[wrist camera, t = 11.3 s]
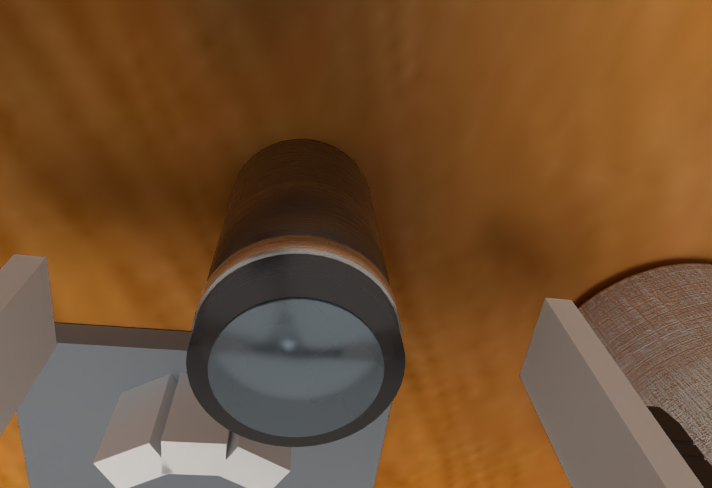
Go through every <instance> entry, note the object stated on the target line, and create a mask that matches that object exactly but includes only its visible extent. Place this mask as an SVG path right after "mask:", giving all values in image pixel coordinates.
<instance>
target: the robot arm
mask: <svg viewBox="0 0 712 488" xmlns="http://www.w3.org/2000/svg"><path fill="white" fill-rule="evenodd" d="M56 346H57V342H56V333H55V325H54V316H53V308H52V299H51V291H50V282H49V274H48V265H47V257H43V256H30V255H18V254H14V255H13V256H12V257H11V258H10V259H9V260H8V261H7V262H6V263H5V264H4V266H3V267H2V268H1V269H0V436H1V434H2V433H3V431H4V429H5V428H6V426H7V425H8V423H9V421H10V420H11V418H12V417H13V415H14V413H15V412H16V410H17V409H18V407H19V405H20V404H21V402H22V401H23V399H24V397H25V396H26V394H27V393H28V391H29V389H30V388H31V386H32V385H33V383H34V381H35V380H36V378H37V377H38V375H39V373H40V372H41V370H42V369H43V367H44V365H45V364H46V362H47V361H48V359H49V357H50V356H51V354H52V353H53V351H54V349H55V348H56ZM520 378H521V380H522V382H523V384H524V386H525V389H526V391H527V393H528V395H529V397H530V399H531V401H532V404H533V406H534V408H535V410H536V412H537V414H538V416H539V419H540V421H541V423H542V425H543V427H544V429H545V431H546V434H547V436H548V438H549V440H550V442H551V444H552V446H553V449H554V451H555V453H556V455H557V457H558V459H559V461H560V464H561V466H562V468H563V470H564V472H565V474H566V476H567V479H568V481H569V483H570V485H571V487H572V488H712V466H711V464H710V463H709V462H708V460H705V459H704V455H703V454H702V452H701V451H700V450H699V448H698V447H697V446H696V445H694V444H693V440H692V439H691V438H690V436H689V435H688V434H687V432H686V431H685V430H684V428H683V427H682V426H681V424H680V423H679V422H678V421H676V420H675V419H674V418H673V417H671V416H670V415H669V414H668V413H667V412H665V411H664V410H663V409H662V408H660V407H655V406H646V405H645V404H644V402H643V401H642V399H641V398H640V396H639V395H638V394H637V392H636V391H635V389H634V388H633V387H632V385H631V384H630V382H629V381H628V379H627V378H626V377H625V375H624V374H623V372H622V371H621V370H620V368H619V367H618V365H617V364H616V362H615V361H614V360H613V358H612V357H611V355H610V354H609V353H608V351H607V350H606V348H605V347H604V345H603V344H602V343H601V341H600V340H599V338H598V337H597V335H596V334H595V333H594V331H593V330H592V328H591V327H590V326H589V324H588V323H587V321H586V320H585V318H584V317H583V316H582V314H581V313H580V311H579V310H578V309H577V307H576V306H575V304H574V303H573V301H572V300H567V299H555V298H545V300H544V303H543V306H542V309H541V312H540V315H539V318H538V321H537V324H536V327H535V330H534V333H533V336H532V339H531V342H530V345H529V348H528V351H527V354H526V357H525V360H524V364H523V367H522V370H521V373H520Z"/></svg>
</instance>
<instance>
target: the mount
mask: <svg viewBox="0 0 712 488" xmlns="http://www.w3.org/2000/svg"><path fill="white" fill-rule="evenodd" d="M54 325H55V333H56V342H57V346H56V348H55V349H54V351H53V353H52V354H51V356H50V357H49V359H48V361H47V362H46V364H45V365H44V367H43V369H42V370H41V372H40V373H39V375H38V377H37V378H36V380H35V381H34V383H33V385H32V386H31V388H30V389H29V391H28V393H27V394H26V396H25V397H24V399H23V401H22V402H21V404H20V405H19V407H18V409H17V410H16V413H17V418H18V424H19V430H20V435H21V441H22V446H23V452H24V458H25V463H26V469H27V474H28V480H29V486H30V488H373V487H374V482H375V478H376V473H377V468H378V464H379V459H380V455H381V450H382V445H383V441H384V436H385V431H386V427H387V422H388V417H389V413H390V408H391V404H392V402H391V404H390V405H389V406H388V407H387V409H386V410H385V411H384V412H383V413H382V414H381V415H380V416H379V417H378V418H377V419H375V420H374V421H373V422H372V423H370V424H369V425H368V426H366V427H365V428H363V429H361V430H360V431H358V432H356V433H354V434H352V435H350V436H347V437H345V438H343V439H340V440H337V441H333V442H330V443H326V444H321V445H316V446H307V447H282V446H273V445H268V444H263V443H259V442H256V441H252V440H249V439H247V438H244V437H242V436H239V435H237V434H235V433H234V432H232V431H230V430H228V429H226V428H225V427H224V426H222V425H221V424H219V423H218V422H217V421H215V420H214V419H213V418H212V417H211V416H210V415H209V414H208V413H207V412H206V411H205V410H204V409H203V407H202V406H201V405H200V403H199V402H198V400H197V399H196V397H195V396H194V393H193V391H192V389H191V387H190V384H189V380H188V376H187V368H186V357H187V349H188V346H189V342H190V338H191V335H192V332H187V331H171V330H156V329H141V328H126V327H111V326H95V325H80V324H65V323H54Z"/></svg>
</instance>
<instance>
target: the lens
mask: <svg viewBox="0 0 712 488" xmlns="http://www.w3.org/2000/svg"><path fill="white" fill-rule="evenodd" d="M186 368H187V376H188V380H189V384H190V387H191V389H192V391H193V393H194V396H195V397H196V399H197V400H198V402H199V403H200V405H201V406H202V407H203V409H204V410H205V411H206V412H207V413H208V414H209V415H210V416H211V417H212V418H213V419H214V420H215V421H217V422H218V423H219V424H221V425H222V426H224V427H225V428H226V429H228V430H230V431H232V432H234V433H235V434H237V435H239V436H242V437H244V438H247V439H249V440H252V441H256V442H259V443H263V444H268V445H273V446H282V447H307V446H316V445H321V444H326V443H330V442H333V441H337V440H340V439H343V438H345V437H347V436H350V435H352V434H354V433H356V432H358V431H360V430H361V429H363V428H365V427H366V426H368V425H369V424H370V423H372V422H373V421H374V420H375V419H377V418H378V417H379V416H380V415H381V414H382V413H383V412H384V411H385V410H386V409H387V407H388V406H389V405H390V404H391V402H392V401H393V399H394V398H395V396H396V394H397V392H398V390H399V388H400V386H401V382H402V379H403V376H404V369H405V353H404V348H403V343H402V338H401V325H400V320H399V315H398V310H397V306H396V302H395V297H394V295H393V292H392V289H391V287H390V283H389V279H388V274H387V270H386V265H385V261H384V256H383V252H382V247H381V242H380V238H379V233H378V229H377V224H376V220H375V215H374V211H373V206H372V201H371V197H370V192H369V188H368V185H367V182H366V179H365V177H364V175H363V174H362V172H361V170H360V169H359V167H358V166H357V165H356V164H355V163H354V162H353V160H352V159H351V158H349V157H348V156H347V155H346V154H345V153H343V152H342V151H340V150H338V149H337V148H335V147H333V146H330V145H328V144H326V143H322V142H319V141H314V140H307V139H295V140H287V141H282V142H279V143H276V144H273V145H270V146H268V147H266V148H264V149H263V150H261V151H260V152H258V153H257V154H255V155H254V156H253V157H252V158H251V159H250V160H249V161H248V162H247V163H246V164H245V166H244V167H243V168H242V170H241V172H240V173H239V175H238V177H237V180H236V182H235V185H234V189H233V192H232V196H231V199H230V203H229V206H228V210H227V213H226V216H225V220H224V223H223V227H222V230H221V234H220V237H219V241H218V244H217V248H216V251H215V255H214V258H213V262H212V265H211V269H210V272H209V276H208V279H207V282H206V284H205V286H204V289H203V291H202V293H201V296H200V299H199V303H198V306H197V310H196V313H195V317H194V321H193V325H192V335H191V338H190V342H189V346H188V349H187V357H186Z"/></svg>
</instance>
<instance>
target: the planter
mask: <svg viewBox="0 0 712 488" xmlns="http://www.w3.org/2000/svg"><path fill="white" fill-rule="evenodd" d="M577 309H578V310H579V311H580V313H581V314H582V316H583V317H584V318H585V320H586V321H587V323H588V324H589V326H590V327H591V328H592V330H593V331H594V333H595V334H596V335H597V337H598V338H599V340H600V341H601V343H602V344H603V345H604V347H605V348H606V350H607V351H608V353H609V354H610V355H611V357H612V358H613V360H614V361H615V362H616V364H617V365H618V367H619V368H620V370H621V371H622V372H623V374H624V375H625V377H626V378H627V379H628V381H629V382H630V384H631V385H632V387H633V388H634V389H635V391H636V392H637V394H638V395H639V396H640V398H641V399H642V401H643V402H644V404H645V405H646V406H655V407H660V408H662V409H663V410H664V411H665V412H667V413H668V414H669V415H670V416H671V417H673V418H674V419H675V420H676V421H678V422H679V423H680V424H681V426H682V427H683V428H684V430H685V431H686V432H687V434H688V435H689V436H690V438H691V439H692V440H693V444H694V445H696V446H697V447H698V448H699V450H700V451H701V452H702V454H703V455H704V459H705V460H708V462H709V463H710V464H711V466H712V264H707V263H683V264H673V265H666V266H661V267H657V268H653V269H649V270H646V271H643V272H640V273H637V274H634V275H631V276H629V277H627V278H624V279H622V280H620V281H618V282H616V283H614V284H612V285H610V286H608V287H607V288H605V289H603V290H602V291H600V292H598V293H597V294H595V295H594V296H592V297H591V298H590V299H588V300H587V301H585V302H584V303H583V304H582V305H581V306H579V307H578V308H577Z"/></svg>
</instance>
